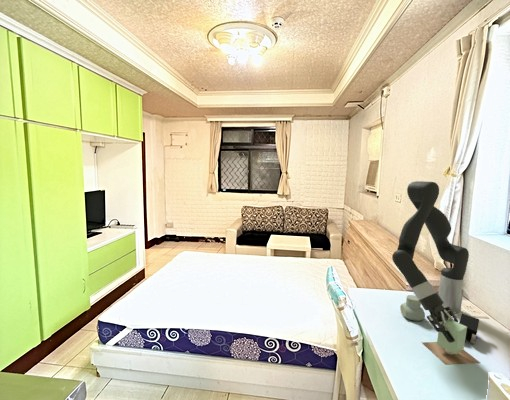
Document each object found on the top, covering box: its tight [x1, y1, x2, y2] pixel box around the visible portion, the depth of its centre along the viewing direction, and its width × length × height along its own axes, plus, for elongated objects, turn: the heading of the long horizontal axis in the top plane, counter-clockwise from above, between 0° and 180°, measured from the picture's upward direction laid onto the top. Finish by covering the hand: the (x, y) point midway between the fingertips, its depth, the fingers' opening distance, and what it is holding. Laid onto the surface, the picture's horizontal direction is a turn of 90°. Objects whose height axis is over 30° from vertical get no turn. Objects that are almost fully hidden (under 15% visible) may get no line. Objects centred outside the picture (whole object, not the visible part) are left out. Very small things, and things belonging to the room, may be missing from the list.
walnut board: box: [421, 341, 481, 366], centre depth 102 cm, size 14×12×1 cm
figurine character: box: [458, 313, 480, 345], centre depth 112 cm, size 7×8×15 cm
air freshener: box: [399, 294, 426, 322], centre depth 126 cm, size 11×8×10 cm
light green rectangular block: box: [436, 319, 467, 354], centre depth 101 cm, size 6×6×9 cm
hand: (456, 338), depth 99 cm, fingers closed on light green rectangular block, 6 cm apart
